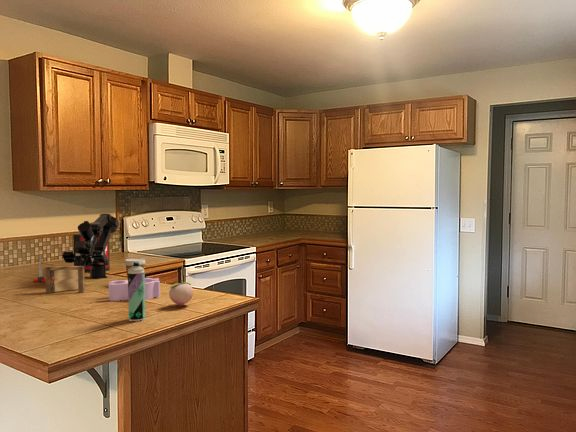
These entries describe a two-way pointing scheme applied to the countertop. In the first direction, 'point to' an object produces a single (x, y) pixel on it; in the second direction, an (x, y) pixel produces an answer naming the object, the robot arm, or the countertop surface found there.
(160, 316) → the countertop surface
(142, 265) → the disposable coffee cup
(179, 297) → the decorative fruit
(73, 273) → the door
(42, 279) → the tow hook
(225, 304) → the countertop surface
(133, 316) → the spray can
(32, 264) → the countertop surface
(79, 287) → the frame
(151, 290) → the clip
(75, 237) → the cleaning product box
